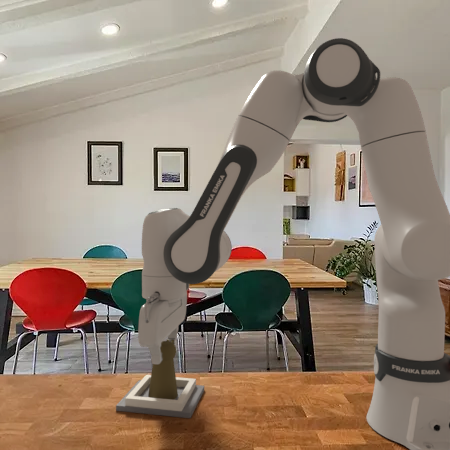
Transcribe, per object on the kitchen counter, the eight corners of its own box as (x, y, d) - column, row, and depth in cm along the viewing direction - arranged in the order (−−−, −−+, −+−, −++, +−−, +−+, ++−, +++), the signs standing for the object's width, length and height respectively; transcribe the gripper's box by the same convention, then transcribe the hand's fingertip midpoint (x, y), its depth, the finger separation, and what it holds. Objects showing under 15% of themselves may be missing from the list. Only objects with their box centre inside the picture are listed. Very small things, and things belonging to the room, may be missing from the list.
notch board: (204, 390, 88) (204, 378, 88) (190, 418, 76) (190, 405, 76) (139, 384, 90) (139, 373, 90) (115, 410, 79) (115, 398, 78)
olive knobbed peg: (172, 403, 80) (172, 348, 79) (143, 400, 81) (143, 346, 80) (181, 390, 85) (182, 339, 85) (154, 387, 87) (155, 336, 86)
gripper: (162, 299, 71) (163, 375, 72) (191, 279, 92) (191, 339, 92) (128, 298, 73) (129, 373, 73) (164, 279, 93) (165, 338, 93)
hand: (164, 354), depth 83 cm, fingers open, 8 cm apart
